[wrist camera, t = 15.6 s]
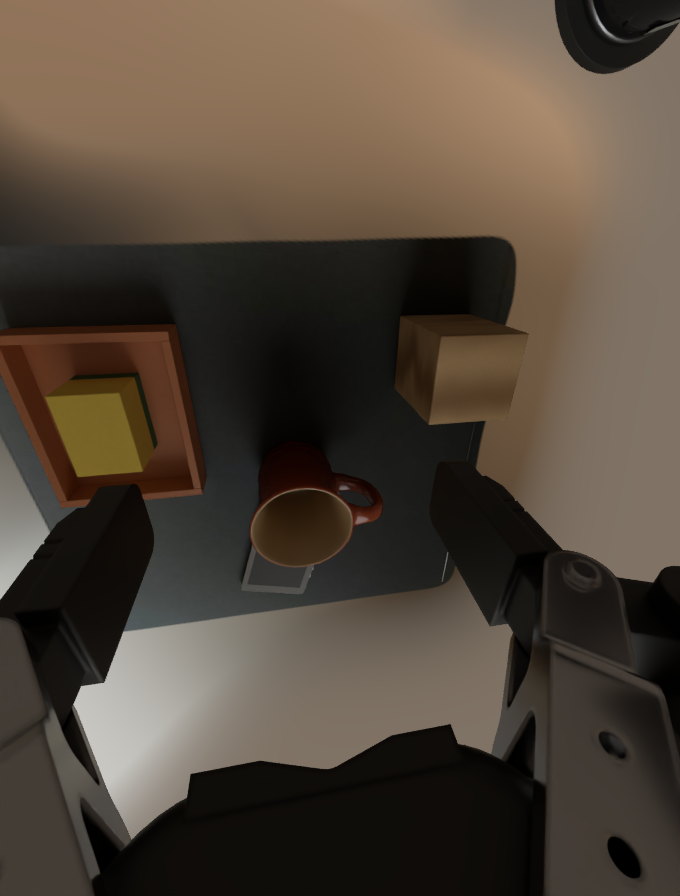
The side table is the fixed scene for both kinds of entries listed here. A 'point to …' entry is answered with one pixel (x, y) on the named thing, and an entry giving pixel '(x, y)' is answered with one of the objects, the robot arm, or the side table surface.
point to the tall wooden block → (458, 367)
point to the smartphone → (273, 576)
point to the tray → (106, 352)
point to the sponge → (104, 423)
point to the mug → (306, 507)
